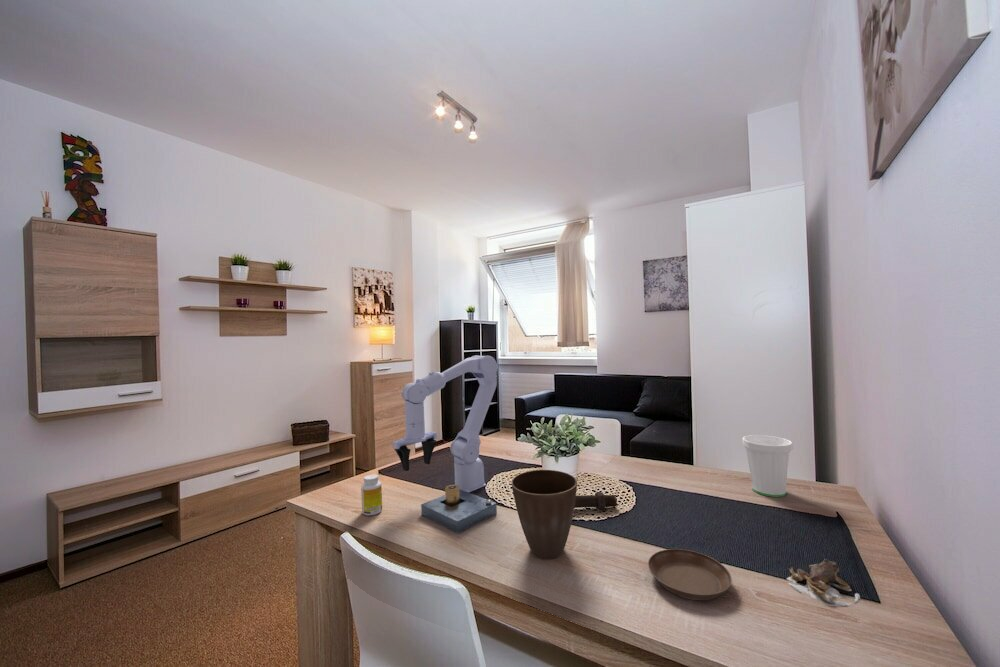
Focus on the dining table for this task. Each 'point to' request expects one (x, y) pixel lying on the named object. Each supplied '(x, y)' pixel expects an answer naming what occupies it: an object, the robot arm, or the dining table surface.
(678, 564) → the saucer
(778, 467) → the cup
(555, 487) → the plant pot
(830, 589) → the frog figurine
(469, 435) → the robot arm
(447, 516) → the jig
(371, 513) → the supplement bottle
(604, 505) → the bolt
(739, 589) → the dining table surface
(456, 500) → the bushing
